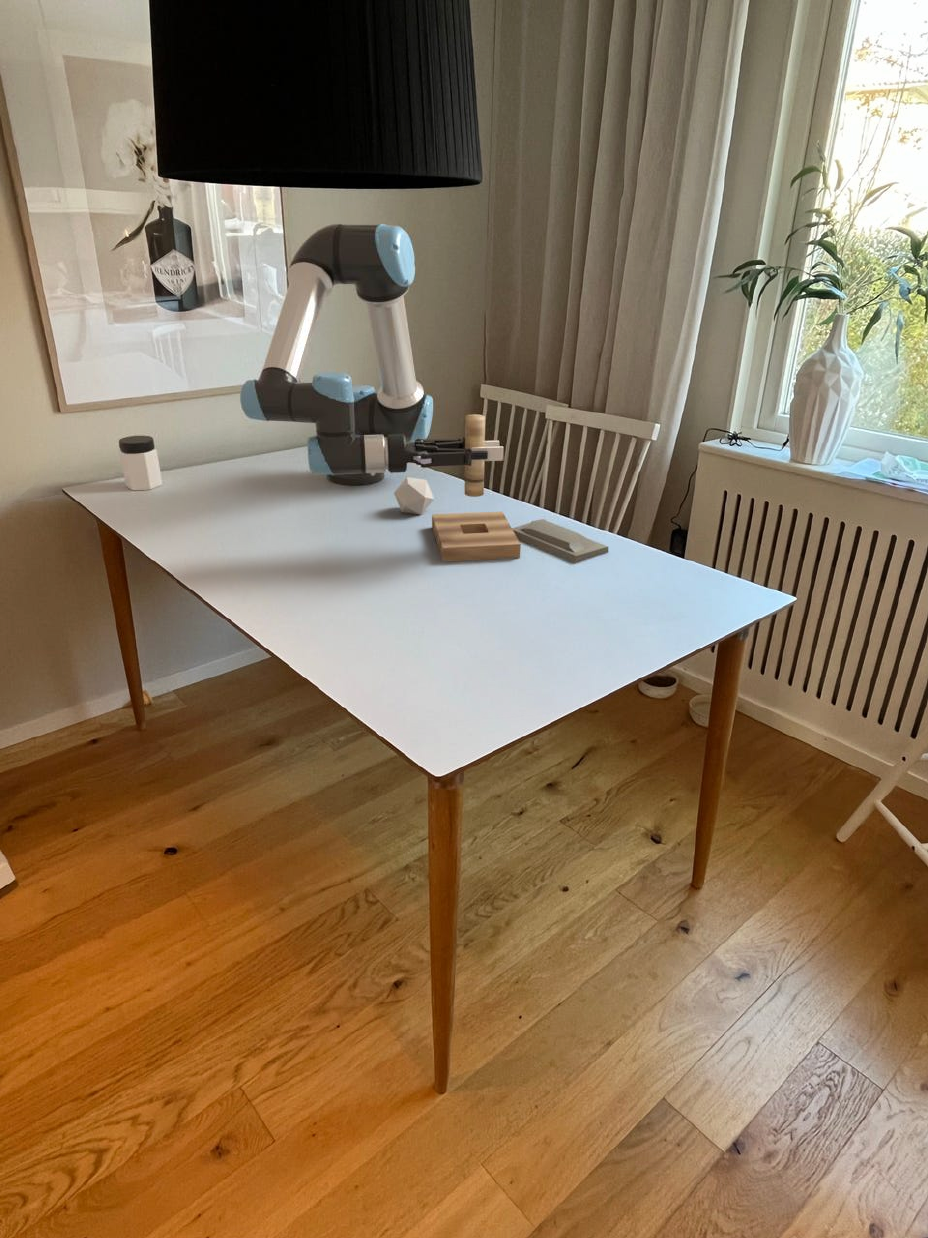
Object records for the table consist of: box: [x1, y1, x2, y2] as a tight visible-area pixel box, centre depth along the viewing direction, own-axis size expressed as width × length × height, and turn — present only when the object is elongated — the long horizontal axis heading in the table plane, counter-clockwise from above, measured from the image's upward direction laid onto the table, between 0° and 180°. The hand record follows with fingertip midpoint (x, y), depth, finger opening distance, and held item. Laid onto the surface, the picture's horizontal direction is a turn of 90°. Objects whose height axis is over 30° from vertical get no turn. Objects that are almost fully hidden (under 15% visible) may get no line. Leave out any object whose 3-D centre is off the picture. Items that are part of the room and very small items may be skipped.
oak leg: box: [463, 413, 486, 498], centre depth 162 cm, size 4×4×16 cm
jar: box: [118, 435, 163, 492], centre depth 201 cm, size 9×8×12 cm
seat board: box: [431, 511, 522, 563], centre depth 170 cm, size 20×16×3 cm
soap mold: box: [511, 518, 609, 564], centre depth 170 cm, size 10×20×4 cm, turn 39°
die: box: [393, 476, 435, 516], centre depth 186 cm, size 8×9×10 cm
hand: (500, 450), depth 163 cm, fingers closed on oak leg, 4 cm apart
